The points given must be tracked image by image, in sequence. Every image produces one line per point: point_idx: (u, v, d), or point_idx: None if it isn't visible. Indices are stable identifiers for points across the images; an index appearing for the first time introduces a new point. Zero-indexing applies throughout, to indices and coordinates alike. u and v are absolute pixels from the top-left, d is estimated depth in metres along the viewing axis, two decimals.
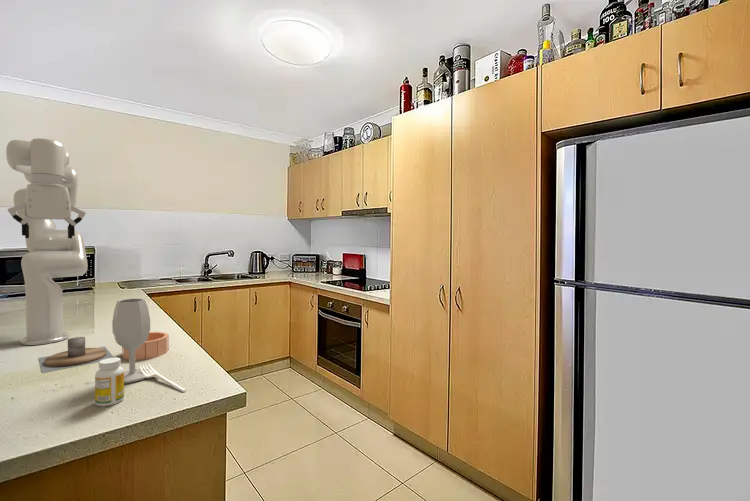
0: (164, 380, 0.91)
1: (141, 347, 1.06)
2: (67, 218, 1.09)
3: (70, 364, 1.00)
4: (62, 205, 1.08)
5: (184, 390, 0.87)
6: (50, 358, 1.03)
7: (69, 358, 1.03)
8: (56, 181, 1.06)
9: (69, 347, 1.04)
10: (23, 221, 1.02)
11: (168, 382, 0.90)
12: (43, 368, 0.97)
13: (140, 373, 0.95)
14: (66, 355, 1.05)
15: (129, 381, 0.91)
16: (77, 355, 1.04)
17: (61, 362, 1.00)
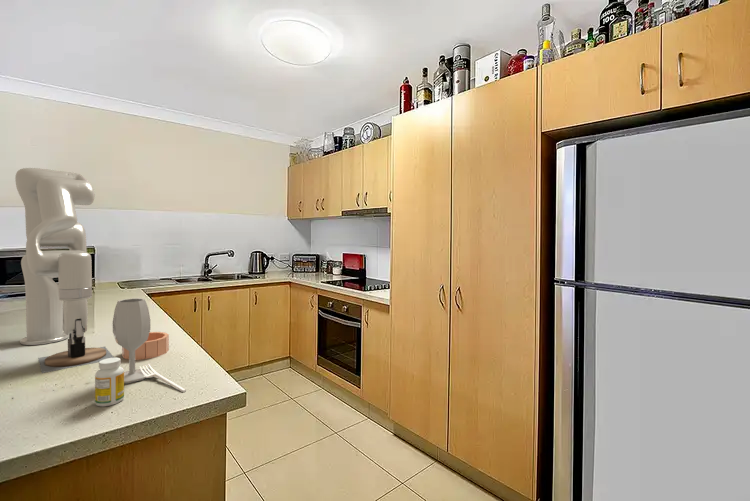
0: (164, 380, 0.91)
1: (141, 347, 1.06)
2: None
3: (70, 364, 1.00)
4: None
5: (184, 390, 0.87)
6: (50, 358, 1.02)
7: (69, 358, 1.03)
8: None
9: (69, 347, 1.04)
10: None
11: (168, 382, 0.90)
12: (43, 368, 0.97)
13: (140, 373, 0.95)
14: (66, 355, 1.05)
15: (129, 381, 0.91)
16: None
17: (61, 362, 1.00)
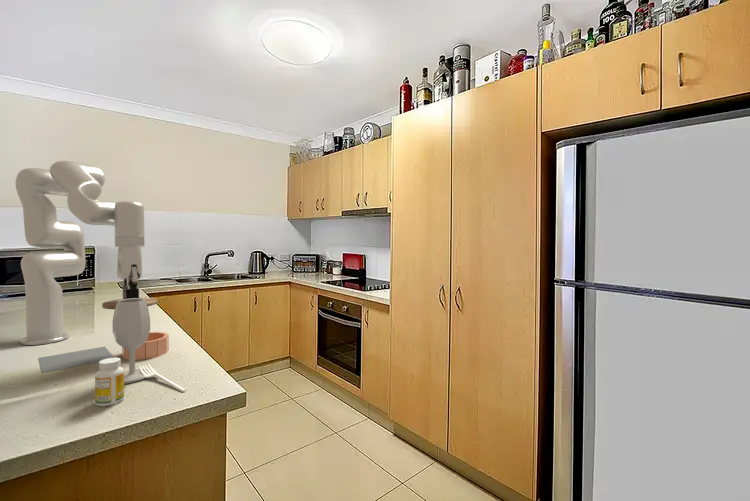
0: (164, 380, 0.91)
1: (141, 347, 1.06)
2: None
3: None
4: None
5: (184, 390, 0.87)
6: (107, 303, 1.06)
7: None
8: None
9: (124, 293, 1.07)
10: None
11: (168, 382, 0.90)
12: (43, 368, 0.97)
13: (140, 373, 0.95)
14: None
15: (129, 381, 0.91)
16: None
17: None
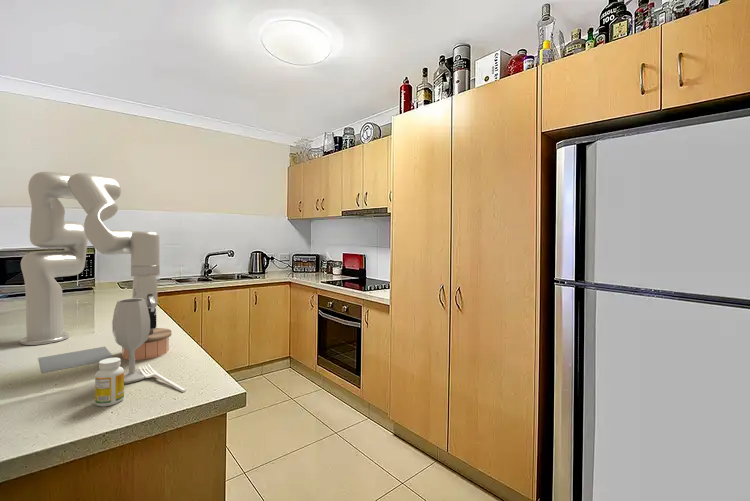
0: (164, 380, 0.91)
1: (141, 347, 1.06)
2: None
3: None
4: None
5: (184, 390, 0.87)
6: None
7: None
8: None
9: None
10: None
11: (168, 382, 0.90)
12: (43, 368, 0.97)
13: (140, 373, 0.95)
14: None
15: (128, 381, 0.91)
16: None
17: None
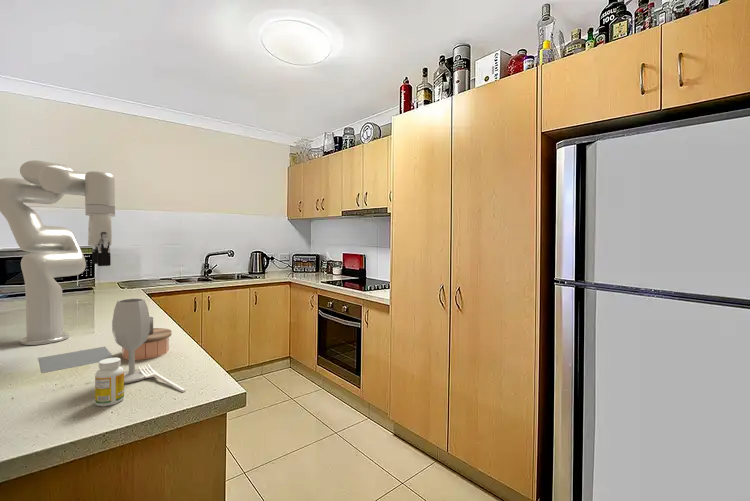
0: (163, 380, 0.91)
1: (141, 347, 1.06)
2: None
3: None
4: None
5: (183, 390, 0.87)
6: None
7: None
8: None
9: None
10: None
11: (167, 382, 0.90)
12: (43, 368, 0.97)
13: (139, 373, 0.95)
14: None
15: (128, 381, 0.91)
16: None
17: None
